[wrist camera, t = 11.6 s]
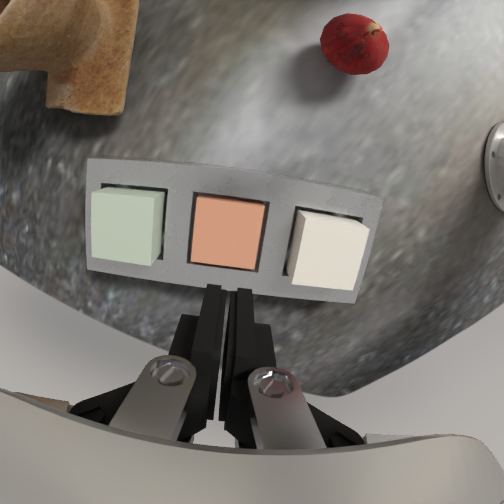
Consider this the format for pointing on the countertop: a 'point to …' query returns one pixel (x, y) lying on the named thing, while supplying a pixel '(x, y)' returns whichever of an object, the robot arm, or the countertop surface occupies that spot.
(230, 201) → the terracotta key
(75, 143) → the countertop surface
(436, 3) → the countertop surface
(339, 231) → the cream key
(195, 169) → the keypad housing
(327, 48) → the onion
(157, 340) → the countertop surface
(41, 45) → the brown hollow boot-shaped piece
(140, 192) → the sage key
